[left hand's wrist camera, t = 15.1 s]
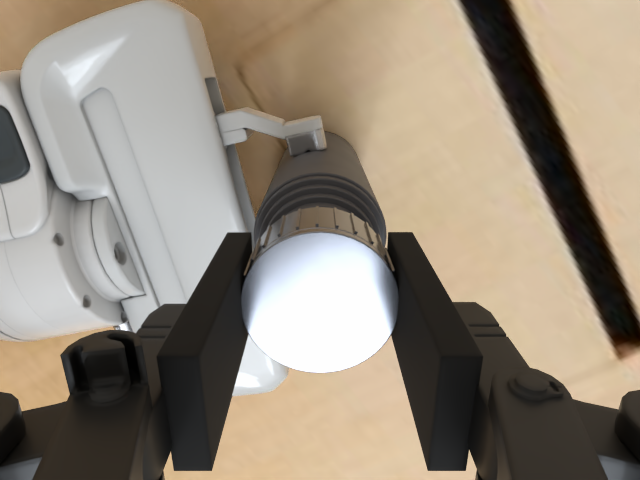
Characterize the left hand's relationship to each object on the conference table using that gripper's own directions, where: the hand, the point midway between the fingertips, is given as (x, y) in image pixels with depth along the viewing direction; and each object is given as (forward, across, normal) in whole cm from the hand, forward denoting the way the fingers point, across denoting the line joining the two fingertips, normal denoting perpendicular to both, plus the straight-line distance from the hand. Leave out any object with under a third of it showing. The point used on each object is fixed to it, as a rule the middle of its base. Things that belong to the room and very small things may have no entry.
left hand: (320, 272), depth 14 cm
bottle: (+15, 0, 0) cm, 15 cm away
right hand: (+9, -1, 0) cm, 9 cm away
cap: (-2, 0, 0) cm, 2 cm away
